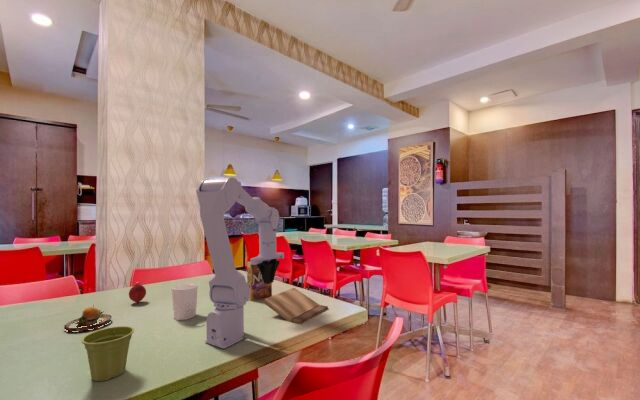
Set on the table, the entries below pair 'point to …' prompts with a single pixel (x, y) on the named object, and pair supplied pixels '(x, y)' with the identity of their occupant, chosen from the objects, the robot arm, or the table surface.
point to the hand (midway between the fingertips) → (268, 282)
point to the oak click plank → (290, 304)
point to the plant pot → (107, 351)
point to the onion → (137, 292)
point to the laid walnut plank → (309, 314)
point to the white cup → (184, 301)
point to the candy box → (257, 283)
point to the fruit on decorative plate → (89, 320)
